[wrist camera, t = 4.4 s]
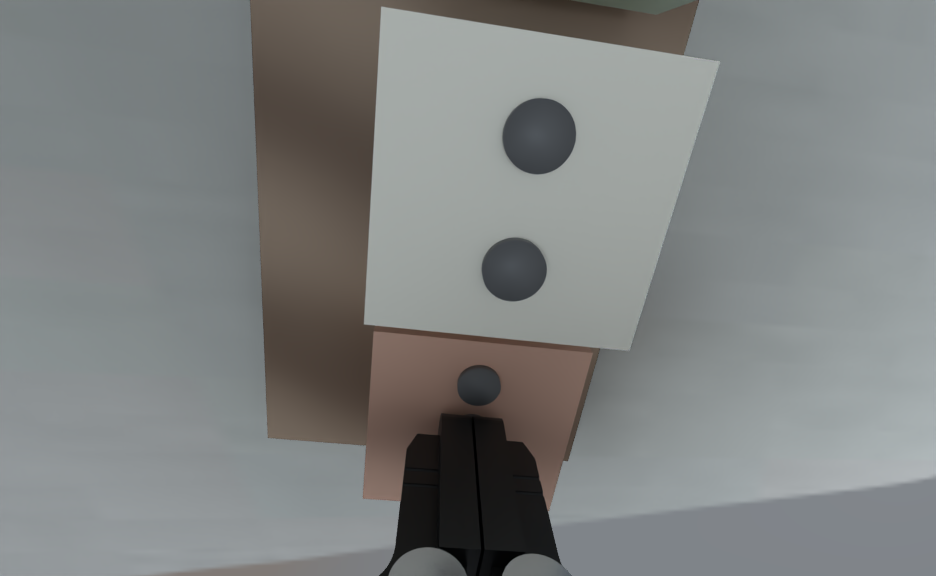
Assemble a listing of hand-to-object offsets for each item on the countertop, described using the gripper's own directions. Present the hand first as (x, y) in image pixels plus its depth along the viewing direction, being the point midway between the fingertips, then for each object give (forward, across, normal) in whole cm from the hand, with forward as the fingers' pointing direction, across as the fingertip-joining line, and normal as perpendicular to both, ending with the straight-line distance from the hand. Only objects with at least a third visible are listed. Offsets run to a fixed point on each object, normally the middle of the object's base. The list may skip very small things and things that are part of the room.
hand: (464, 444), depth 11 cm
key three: (+3, 0, 0) cm, 3 cm away
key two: (+2, 0, -6) cm, 6 cm away
